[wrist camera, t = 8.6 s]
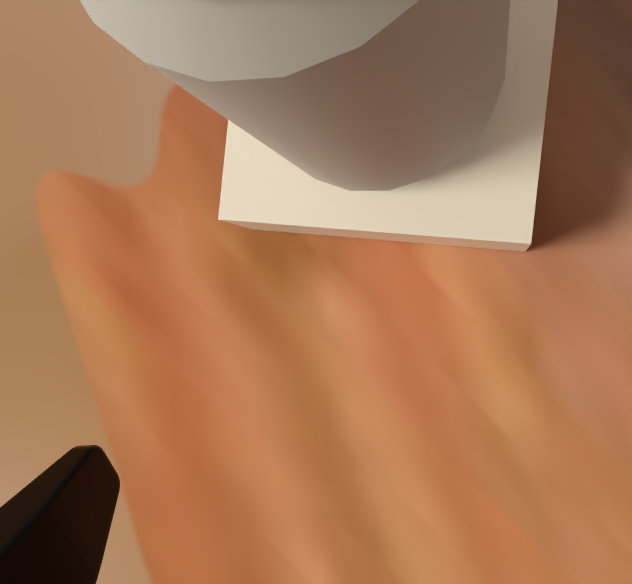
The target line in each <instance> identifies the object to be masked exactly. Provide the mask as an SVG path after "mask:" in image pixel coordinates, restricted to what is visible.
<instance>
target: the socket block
mask: <svg viewBox="0 0 632 584" xmlns="http://www.w3.org/2000/svg"><path fill="white" fill-rule="evenodd" d="M557 7H558V0H510V12H509V26H508V41H507V55H506V69H505V80H504V82H503V85H502V88H501V90H500V93H499V96H498V98H497V101H496V104H495V106H494V109H493V112H492V114H491V117H490V119H489V121H488V122H487V123H486V125H485V126H484V127H483V128H482V130H481V131H480V132H479V134H478V135H477V136H476V137H475V139H474V140H473V141H472V142H471V144H470V145H469V146H468V148H467V149H466V150H465V151H464V153H463V154H462V155H460V156H459V157H457V158H456V159H454V160H453V161H452V162H450V163H449V164H447V165H446V166H445V167H443V168H442V169H440V170H439V171H437V172H436V173H435V174H433V175H432V176H430V177H429V178H427V179H424V180H421V181H418V182H415V183H411V184H408V185H405V186H402V187H399V188H396V189H393V190H390V191H349V190H346V189H343V188H340V187H337V186H334V185H331V184H328V183H325V182H322V181H319V180H316V179H314V178H313V177H311V176H310V175H308V174H307V173H305V172H304V171H303V170H301V169H300V168H298V167H297V166H295V165H294V164H292V163H291V162H289V161H288V160H286V159H285V158H284V157H282V156H281V155H279V154H278V153H276V152H275V151H273V150H272V149H270V148H269V147H267V146H266V145H265V144H263V143H262V142H260V141H259V140H257V139H256V138H254V137H253V136H251V135H250V134H248V133H247V132H246V131H244V130H243V129H241V128H240V127H238V126H237V125H235V124H234V123H232V122H231V121H229V120H228V128H227V138H226V148H225V158H224V168H223V178H222V188H221V198H220V208H219V217H218V220H222V221H225V222H229V223H232V224H236V225H239V226H242V227H246V228H249V229H254V230H266V231H278V232H291V233H303V234H315V235H327V236H339V237H352V238H364V239H376V240H388V241H401V242H413V243H425V244H437V245H449V246H462V247H474V248H486V249H498V250H511V251H523V252H525V251H526V250H527V249H528V247H529V246H530V245H531V241H532V232H533V223H534V214H535V205H536V196H537V187H538V178H539V169H540V160H541V151H542V142H543V133H544V124H545V115H546V106H547V97H548V88H549V79H550V70H551V61H552V52H553V43H554V34H555V25H556V16H557Z"/></svg>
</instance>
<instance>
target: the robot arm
mask: <svg viewBox="0 0 632 584" xmlns="http://www.w3.org/2000/svg"><path fill="white" fill-rule="evenodd" d="M119 489H120V480H119V476H118V474H117V472H116V471H115V469H114V467H113V466H112V464H111V462H110V461H109V459H108V458H107V456H106V454H105V452H104V451H103V449H102V448H101V447H99V446H97V445H86V446H77V447H74V448H72V449H71V450H69V451H68V452H67V453H66V454H65V455H63V456H62V457H61V458H60V459H58V460H57V461H56V462H55V463H54V464H52V465H51V466H50V467H49V468H48V469H46V470H45V471H44V472H43V473H42V474H41V475H39V476H38V477H37V478H35V479H34V480H33V481H32V482H31V483H29V484H28V485H27V486H26V487H25V488H23V489H22V490H21V491H20V492H19V493H17V494H16V495H15V496H14V497H12V498H11V499H10V500H9V501H8V502H6V503H5V504H4V505H3V506H2V507H0V584H96V581H97V578H98V574H99V570H100V567H101V563H102V559H103V555H104V551H105V547H106V543H107V539H108V535H109V530H110V527H111V522H112V519H113V514H114V510H115V506H116V502H117V498H118V494H119Z"/></svg>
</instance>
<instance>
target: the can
mask: <svg viewBox="0 0 632 584" xmlns="http://www.w3.org/2000/svg"><path fill="white" fill-rule="evenodd" d="M80 1H81V3H82V5H83V6H84V8H85V9H86V11H87V13H88V14H89V16H90V18H91V19H92V21H93V22H94V23H95V24H96V25H97V26H99V27H100V28H101V29H102V30H104V31H105V32H106V33H108V34H109V35H110V36H111V37H113V38H114V39H115V40H117V41H118V42H119V43H120V44H122V45H123V46H124V47H125V48H127V49H128V50H129V51H131V52H132V53H133V54H134V55H136V56H137V57H138V58H140V59H141V60H142V61H144V62H145V63H146V64H148V65H149V66H151V67H152V68H154V69H155V70H156V71H158V72H159V73H161V74H162V75H164V76H165V77H167V78H168V79H170V80H171V81H172V82H174V83H175V84H177V85H178V86H180V87H181V88H183V89H184V90H186V91H187V92H189V93H190V94H191V95H193V96H194V97H196V98H197V99H199V100H200V101H202V102H203V103H205V104H206V105H208V106H209V107H210V108H212V109H213V110H215V111H216V112H218V113H219V114H221V115H222V116H224V117H225V118H227V119H228V120H229V121H231V122H232V123H234V124H235V125H237V126H238V127H240V128H241V129H243V130H244V131H246V132H247V133H248V134H250V135H251V136H253V137H254V138H256V139H257V140H259V141H260V142H262V143H263V144H265V145H266V146H267V147H269V148H270V149H272V150H273V151H275V152H276V153H278V154H279V155H281V156H282V157H284V158H285V159H286V160H288V161H289V162H291V163H292V164H294V165H295V166H297V167H298V168H300V169H301V170H303V171H304V172H305V173H307V174H308V175H310V176H311V177H313V178H314V179H316V180H319V181H322V182H325V183H328V184H331V185H334V186H337V187H340V188H343V189H346V190H349V191H390V190H393V189H396V188H399V187H402V186H405V185H408V184H411V183H415V182H418V181H421V180H424V179H427V178H429V177H430V176H432V175H433V174H435V173H436V172H437V171H439V170H440V169H442V168H443V167H445V166H446V165H447V164H449V163H450V162H452V161H453V160H454V159H456V158H457V157H459V156H460V155H462V154H463V153H464V151H465V150H466V149H467V148H468V146H469V145H470V144H471V142H472V141H473V140H474V139H475V137H476V136H477V135H478V134H479V132H480V131H481V130H482V128H483V127H484V126H485V125H486V123H487V122H488V121H489V119H490V117H491V114H492V112H493V109H494V106H495V104H496V101H497V98H498V96H499V93H500V90H501V88H502V85H503V82H504V80H505V69H506V55H507V41H508V26H509V12H510V0H80Z"/></svg>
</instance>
